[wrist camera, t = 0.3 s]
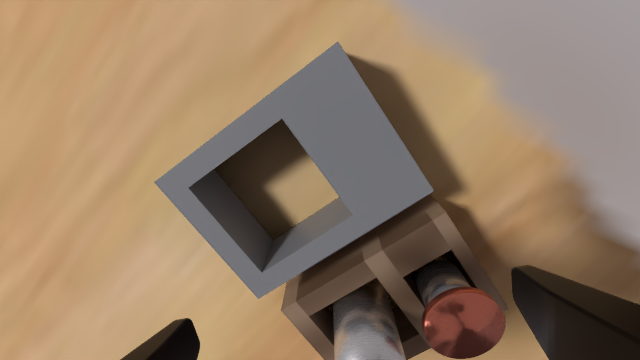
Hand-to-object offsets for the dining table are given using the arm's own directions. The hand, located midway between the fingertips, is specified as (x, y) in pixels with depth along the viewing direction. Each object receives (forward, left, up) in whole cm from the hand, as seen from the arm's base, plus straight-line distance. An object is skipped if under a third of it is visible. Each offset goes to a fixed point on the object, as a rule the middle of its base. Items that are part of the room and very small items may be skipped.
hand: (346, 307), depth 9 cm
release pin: (-9, -2, -10) cm, 13 cm away
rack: (+2, +2, -13) cm, 13 cm away
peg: (-9, +4, -13) cm, 16 cm away
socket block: (-9, +2, -13) cm, 16 cm away
